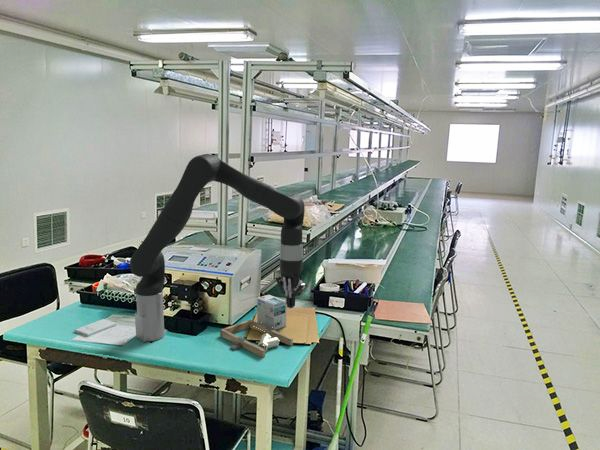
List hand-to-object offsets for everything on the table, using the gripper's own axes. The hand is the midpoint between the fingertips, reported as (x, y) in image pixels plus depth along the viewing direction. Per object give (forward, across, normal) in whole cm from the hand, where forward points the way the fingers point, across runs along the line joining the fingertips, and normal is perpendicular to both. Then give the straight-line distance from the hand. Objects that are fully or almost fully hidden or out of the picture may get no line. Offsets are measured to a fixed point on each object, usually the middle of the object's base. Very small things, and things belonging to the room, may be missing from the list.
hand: (290, 307), depth 155 cm
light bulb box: (+18, -25, +14) cm, 34 cm away
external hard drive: (+18, -68, -38) cm, 80 cm away
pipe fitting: (+18, -10, 0) cm, 21 cm away
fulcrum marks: (+18, -18, 0) cm, 25 cm away
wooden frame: (+18, -18, 0) cm, 25 cm away
